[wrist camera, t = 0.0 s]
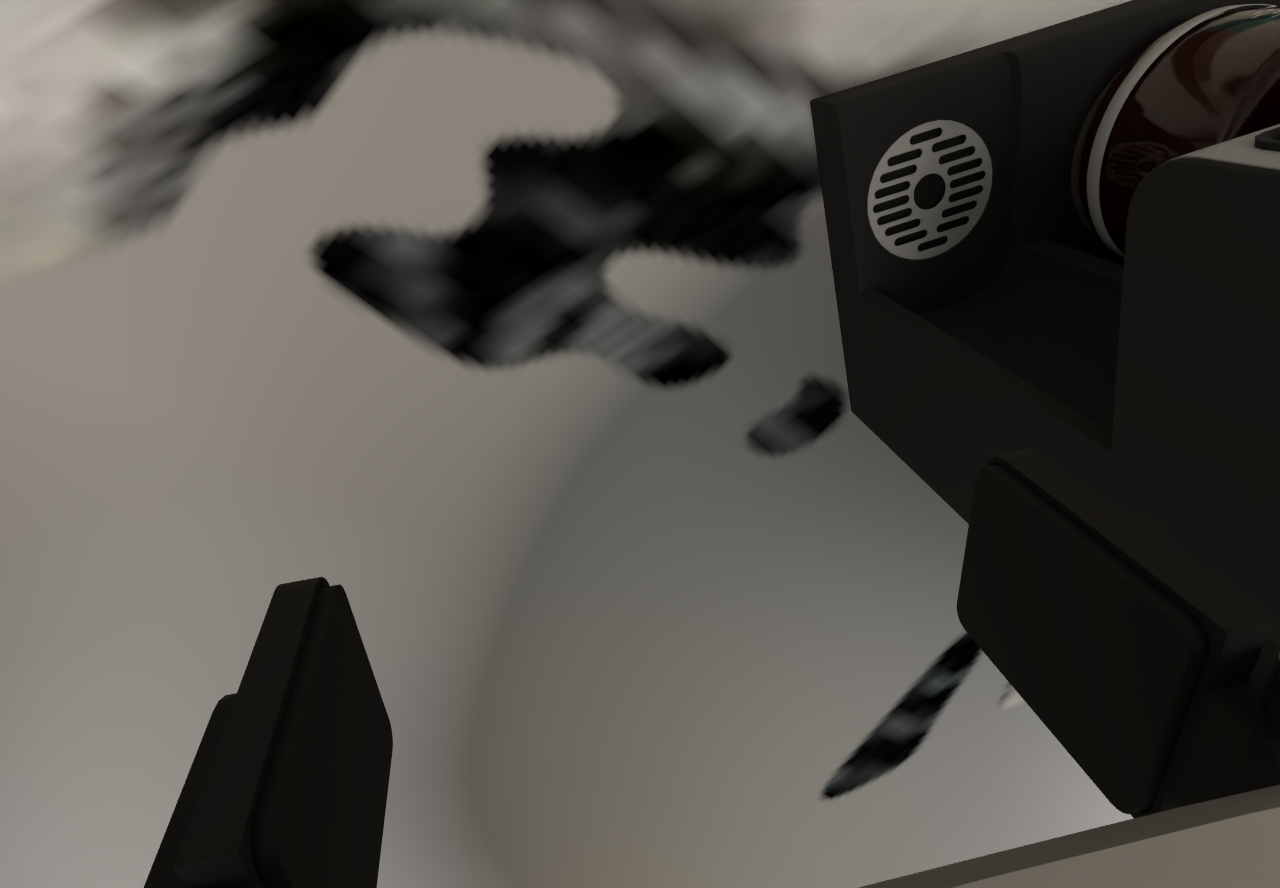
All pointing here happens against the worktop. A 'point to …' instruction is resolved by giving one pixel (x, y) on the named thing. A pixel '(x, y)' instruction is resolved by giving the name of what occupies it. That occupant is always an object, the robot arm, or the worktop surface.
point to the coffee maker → (1078, 269)
